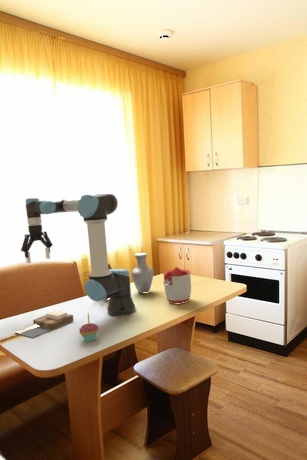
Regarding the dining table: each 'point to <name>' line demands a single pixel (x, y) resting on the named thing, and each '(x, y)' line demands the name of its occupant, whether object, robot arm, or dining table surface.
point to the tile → (56, 314)
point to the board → (52, 321)
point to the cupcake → (89, 331)
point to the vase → (142, 274)
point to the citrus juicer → (177, 285)
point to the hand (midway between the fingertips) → (38, 260)
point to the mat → (35, 332)
